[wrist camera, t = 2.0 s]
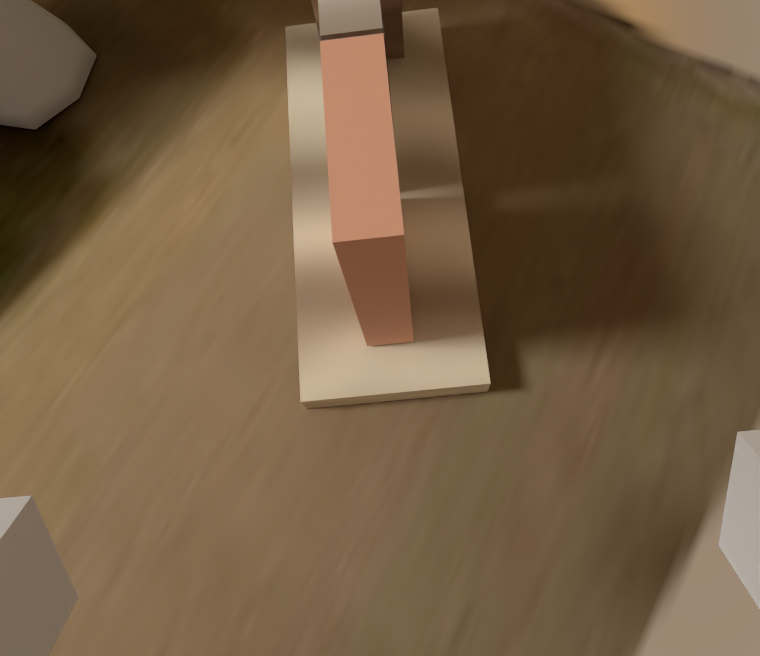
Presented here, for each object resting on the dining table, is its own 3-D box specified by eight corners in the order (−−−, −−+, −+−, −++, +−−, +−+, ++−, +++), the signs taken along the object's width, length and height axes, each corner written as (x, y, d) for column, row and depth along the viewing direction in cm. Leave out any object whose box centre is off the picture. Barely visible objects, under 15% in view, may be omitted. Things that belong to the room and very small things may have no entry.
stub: (413, 341, 27) (404, 234, 17) (367, 346, 27) (332, 242, 18) (398, 196, 29) (383, 33, 20) (355, 201, 29) (319, 41, 20)
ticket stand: (487, 391, 28) (524, 296, 17) (307, 408, 28) (228, 326, 17) (437, 29, 34) (440, -209, 23) (291, 47, 34) (226, -179, 24)
